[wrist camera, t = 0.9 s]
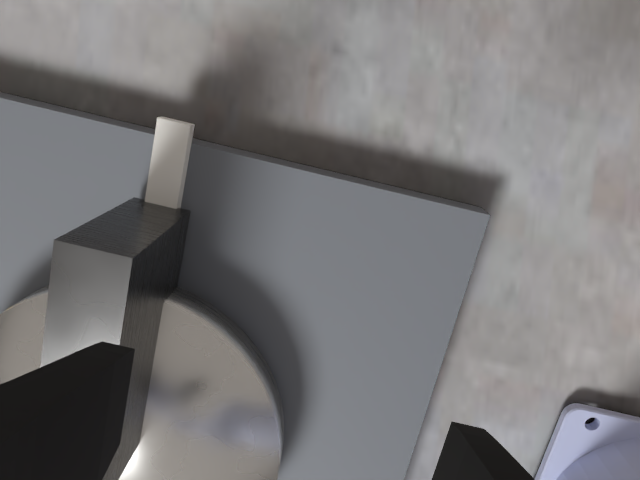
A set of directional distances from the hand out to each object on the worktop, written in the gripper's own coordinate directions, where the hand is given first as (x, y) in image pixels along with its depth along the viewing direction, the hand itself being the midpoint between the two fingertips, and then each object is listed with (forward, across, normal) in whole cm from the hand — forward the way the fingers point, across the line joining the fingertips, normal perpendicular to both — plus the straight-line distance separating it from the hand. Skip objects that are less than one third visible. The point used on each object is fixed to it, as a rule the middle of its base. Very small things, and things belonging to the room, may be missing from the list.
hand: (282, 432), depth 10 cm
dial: (+8, +5, +5) cm, 11 cm away
